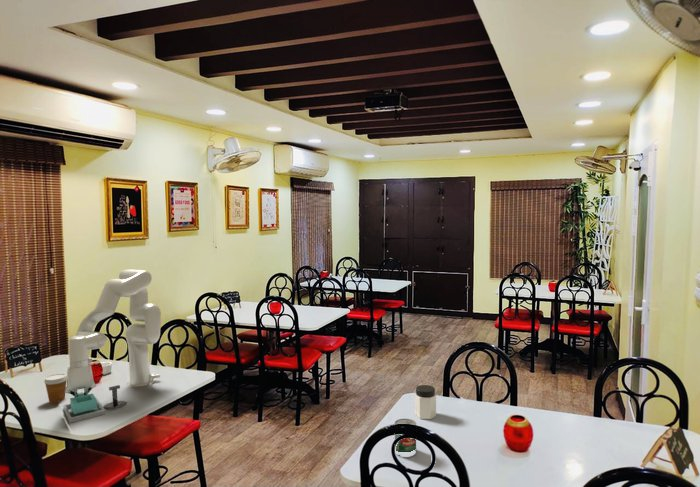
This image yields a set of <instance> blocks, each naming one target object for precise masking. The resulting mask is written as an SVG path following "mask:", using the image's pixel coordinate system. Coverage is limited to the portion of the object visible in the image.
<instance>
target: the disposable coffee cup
mask: <svg viewBox="0 0 700 487" xmlns="http://www.w3.org/2000/svg"><path fill="white" fill-rule="evenodd" d="M43 383H44V384H45V388H46V393H47V398H48V402H49V404H50V405H58V404H60V403H59V402H60V401H62V400H63V401H64V400H65V399H66V393H65V389H66V387H67V373H66V374H65V373H56V374H50V375H48V376H46V377H45V378H44V381H43Z"/></svg>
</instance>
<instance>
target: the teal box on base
mask: <svg viewBox="0 0 700 487" xmlns="http://www.w3.org/2000/svg"><path fill="white" fill-rule="evenodd" d="M77 394H78V397H71V398H69V402H70V403H69V404H71V408H70V409H71V411H72V413H73V414H74V415H76V414H80V413H85V412H88V411H89V412H90V411H92V410H97V409H98V406H97V399H98V398H97V397H96V396H95V394H94V393H88V395H84V391H80V392H77ZM96 398H97V399H96Z"/></svg>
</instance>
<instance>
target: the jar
mask: <svg viewBox="0 0 700 487" xmlns="http://www.w3.org/2000/svg"><path fill="white" fill-rule="evenodd" d="M414 416H417V418H419V419H420V420H432V419H434V418H435V417H436V416H437V395H436V388H435V387H434V386H432V385H429V384H421V385H417V386H416V387H415V393H414Z"/></svg>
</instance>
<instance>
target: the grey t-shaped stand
mask: <svg viewBox="0 0 700 487" xmlns="http://www.w3.org/2000/svg"><path fill="white" fill-rule="evenodd" d="M118 389H121V386H120V385H119V384H118V385H113V386H108V391H109V392H110V391H111V394H112V397H111V398H112V401H111V402H108V403H105V405H104V406H103V408H104V409H105V411H107V410H108V411H114V410H119V409H123V408H124V407H126V406H127V405H128V402H127V401H125V400H118Z"/></svg>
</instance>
